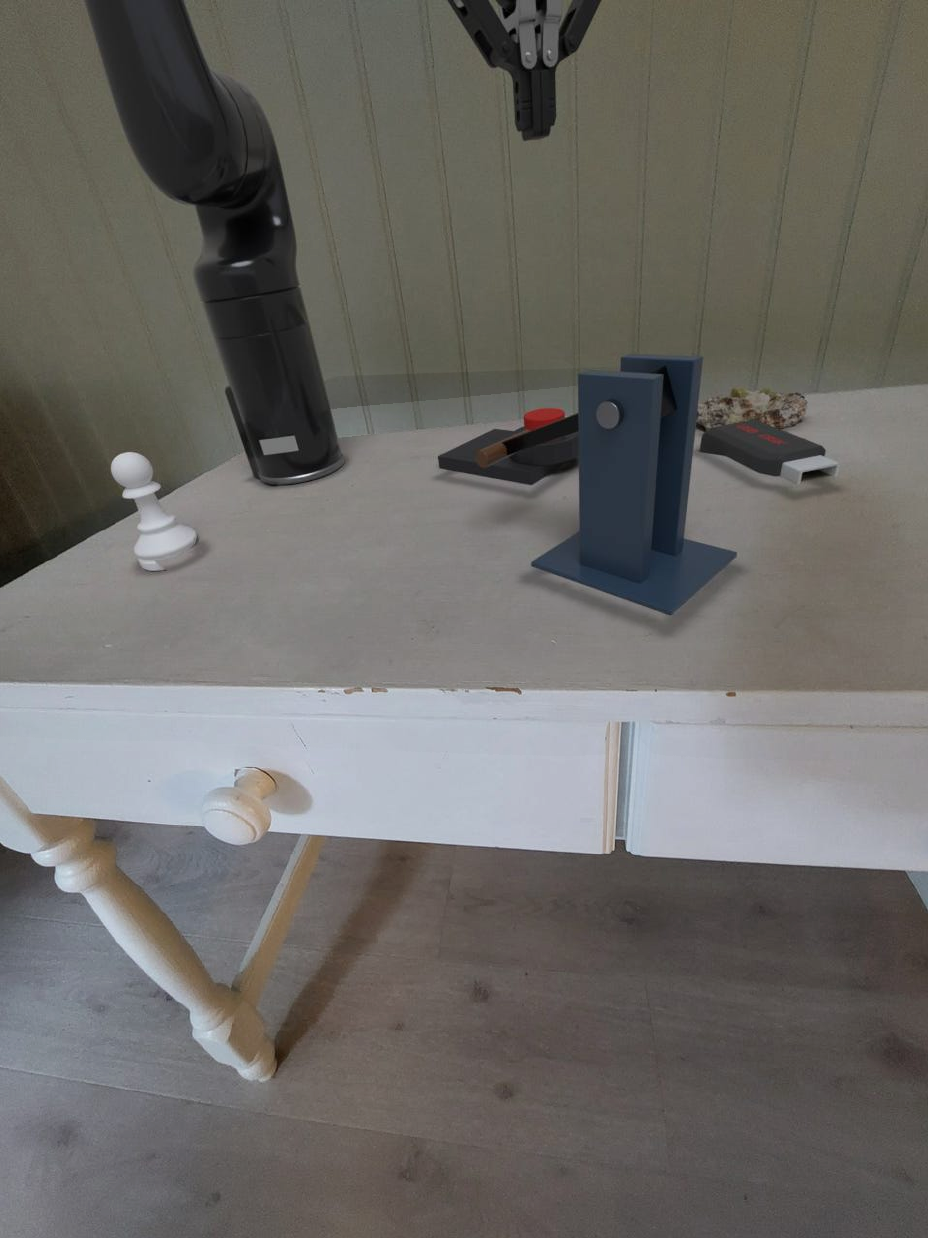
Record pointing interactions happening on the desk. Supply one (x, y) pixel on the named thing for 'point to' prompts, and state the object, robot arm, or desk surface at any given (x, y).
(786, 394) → the mineral rock
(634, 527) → the stand
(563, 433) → the switch lever
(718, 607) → the desk surface
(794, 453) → the usb drive
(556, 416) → the red button
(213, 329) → the robot arm
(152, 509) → the chess pawn
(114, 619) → the desk surface
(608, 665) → the desk surface
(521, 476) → the box
